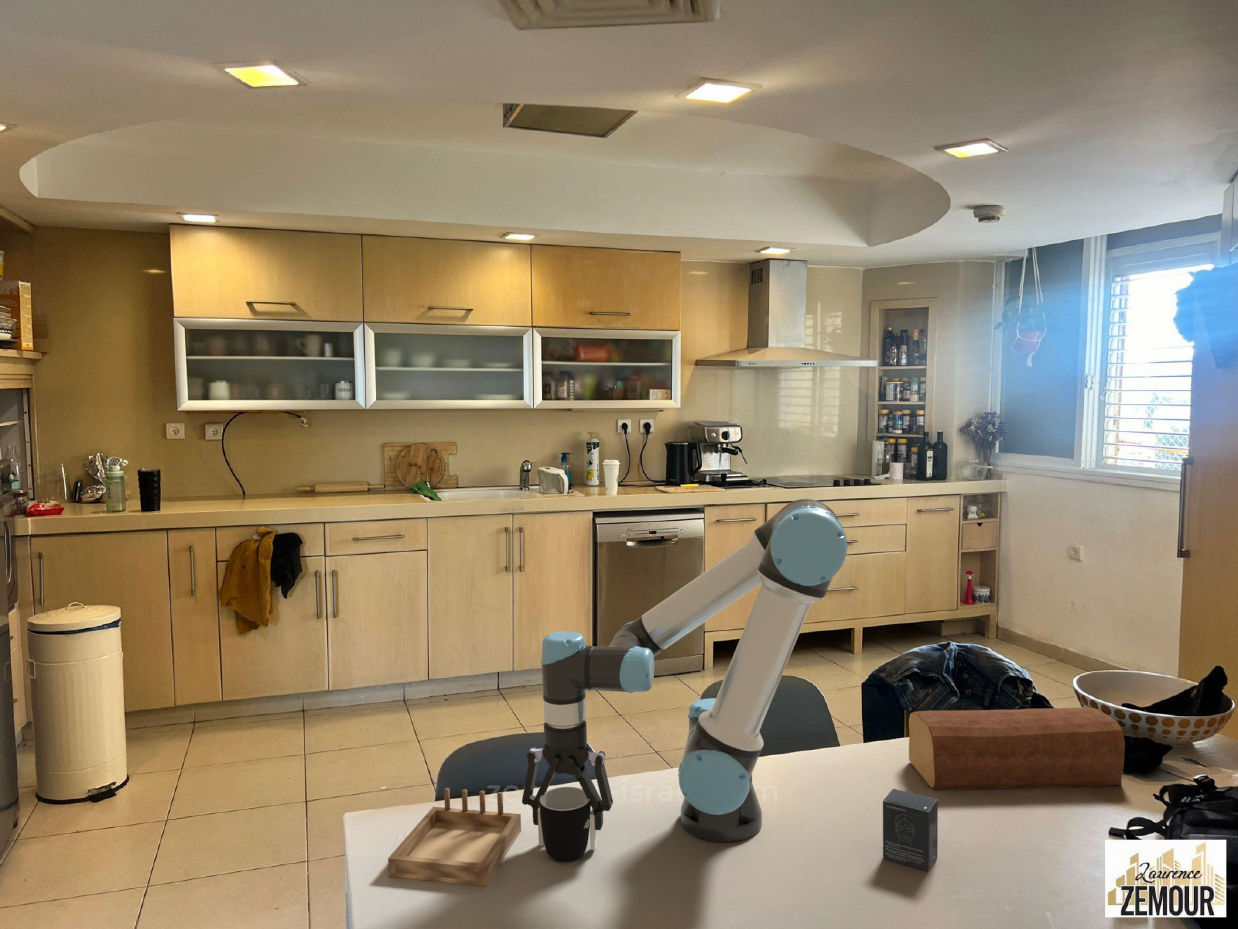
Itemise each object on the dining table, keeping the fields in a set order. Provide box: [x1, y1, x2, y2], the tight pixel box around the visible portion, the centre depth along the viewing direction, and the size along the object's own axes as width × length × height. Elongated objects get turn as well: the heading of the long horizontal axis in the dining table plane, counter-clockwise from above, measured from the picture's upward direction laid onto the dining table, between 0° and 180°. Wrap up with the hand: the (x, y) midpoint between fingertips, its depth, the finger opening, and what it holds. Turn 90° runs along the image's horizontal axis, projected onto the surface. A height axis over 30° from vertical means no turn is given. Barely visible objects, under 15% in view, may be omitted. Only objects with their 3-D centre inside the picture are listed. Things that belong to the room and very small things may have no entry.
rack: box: [387, 787, 522, 887], centre depth 153 cm, size 17×18×7 cm
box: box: [882, 788, 939, 872], centre depth 148 cm, size 8×6×11 cm
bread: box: [908, 707, 1126, 791], centre depth 179 cm, size 16×39×13 cm, turn 90°
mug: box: [540, 786, 592, 863], centre depth 153 cm, size 12×9×10 cm
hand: (568, 843), depth 153 cm, fingers closed on mug, 9 cm apart
